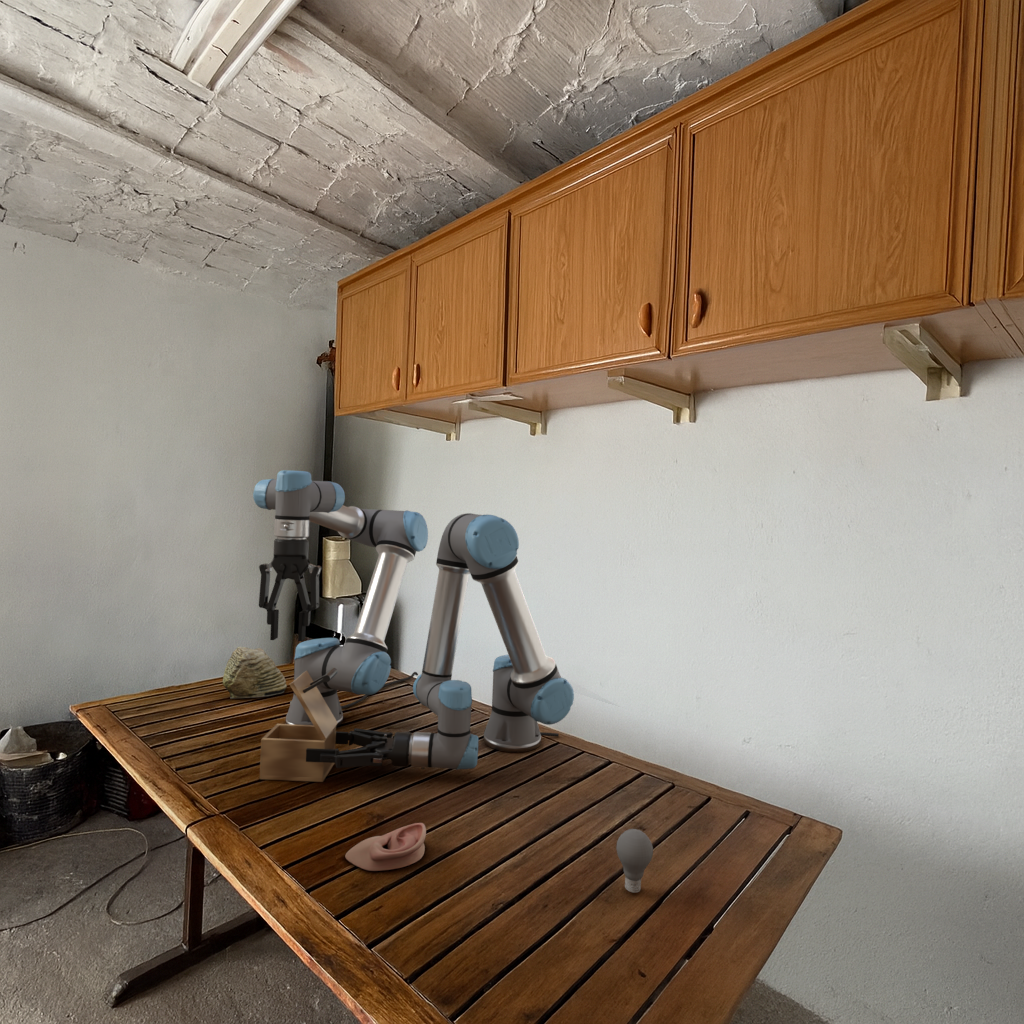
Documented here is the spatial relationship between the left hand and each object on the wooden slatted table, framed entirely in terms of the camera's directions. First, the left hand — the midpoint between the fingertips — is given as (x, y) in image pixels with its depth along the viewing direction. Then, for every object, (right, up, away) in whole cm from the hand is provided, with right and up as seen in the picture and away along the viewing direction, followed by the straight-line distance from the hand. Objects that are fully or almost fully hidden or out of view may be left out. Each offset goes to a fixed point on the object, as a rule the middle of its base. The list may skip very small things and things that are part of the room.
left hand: (287, 639), depth 145 cm
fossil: (-29, -28, +53) cm, 67 cm away
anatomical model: (+29, -32, -31) cm, 54 cm away
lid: (+6, -15, 0) cm, 16 cm away
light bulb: (+71, -34, -39) cm, 88 cm away
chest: (+2, -31, +1) cm, 31 cm away
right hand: (+6, -25, +1) cm, 25 cm away
